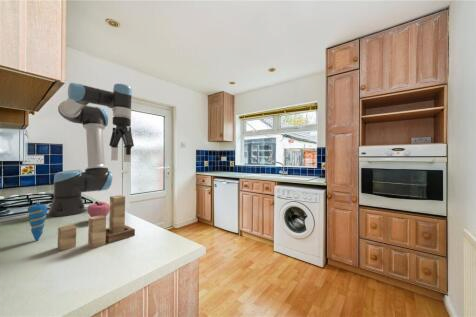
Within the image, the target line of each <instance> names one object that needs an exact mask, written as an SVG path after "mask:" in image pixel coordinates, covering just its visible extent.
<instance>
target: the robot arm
mask: <svg viewBox="0 0 476 317" xmlns="http://www.w3.org/2000/svg"><path fill="white" fill-rule="evenodd" d="M112 90H113V91H109V90H105V89H101V88H96V87H94V86H93V87H92V86H88V85H85V84H81V83H77V82H76V83H75V82H70V83H69V84H68V87H67V97H68V98H67V99H66V100H64V101H63V100H62V102H60V103H59V105H58V107H57V110H58V111H57V112H58V113H59V115H60V116H61V117H62V118H63V119H65V121H66V120H67V121H68V122H70V123H71V122H72V123H74V124H82V127H83V129H84V130H85V131H86V132H85V133H86V135H85V136H86V151H87V152H86V153H87V154H86V155H87V167H86V168H85V169H84V172H83V171H82V169H72V170H63V171H59V172H56V173H55V174H54V176H53V177H54V178H53V200H52V203H51V205H50V207H49V210H48V216H51V217H65V216H71V215H77V214H78V215H79V214H81V213H83V212H84V211H85V210H86V209H85V208H86V207H85V206H86V205H85V204H84V202H83V199H82V193H90V192H102V191H107V190H108V189H110V187H111V185H112V183H113V172H112V171H111V170H109V168H108V167H107V166H106V161H105V160H106V158H105V146H104V143H105V142H104V132H103V131H104V130H105V129H106V127H107V126H108V125H109V116H108V115H109V114H108V113H107V111H106V110H105V109H104V108H101V107H98V106H91V105H89V104H93V105H99V106H104V107H107V108H109V109H111V111H112V116H113V117H112V125H113V126H115V127H112V133H111V137H110V142H109V146H110V147H111V153H110V154H111V155H110V161H119V160H118V158H119V157H118V156H119V144H120V141H121V139H122V143H123V145H124V146H123V162H124V163H131V162H132V161H131V159H132V158H131V156H132V155H131V154H132V153H131V152H132V148H133V147H134V146H135V144H134V139H133V135H132V127H131V124H132V120H131V118H132V95H133V92H132V87H131V86H130V85H127V84H125V83H115V84H113V88H112ZM85 212H86V211H85Z"/></svg>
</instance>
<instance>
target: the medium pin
mask: <svg viewBox="0 0 476 317" xmlns="http://www.w3.org/2000/svg"><path fill="white" fill-rule="evenodd" d="M106 229H107V216H106V217H105V216H102V215H100V216H94V217H91V216H89V217H88V230H87V231H88V232H87V237H88V239H87V245H88V247H90V248H91V249H93V250H94V249H95V248H96V249H97V248H99V247H102V246H105V245H106V241H105V240H106Z"/></svg>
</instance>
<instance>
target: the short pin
mask: <svg viewBox="0 0 476 317" xmlns="http://www.w3.org/2000/svg"><path fill="white" fill-rule="evenodd" d="M76 247H77V226H76V225H74V224H69V225H63V226H59V227H57V249H58V250H60V251H61V252H62V251H66V250H70V249H73V248H76Z"/></svg>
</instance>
